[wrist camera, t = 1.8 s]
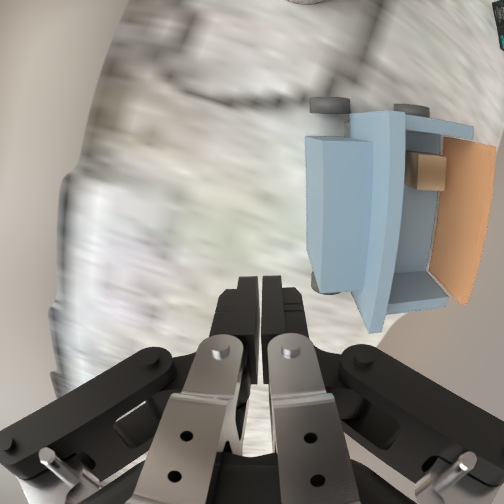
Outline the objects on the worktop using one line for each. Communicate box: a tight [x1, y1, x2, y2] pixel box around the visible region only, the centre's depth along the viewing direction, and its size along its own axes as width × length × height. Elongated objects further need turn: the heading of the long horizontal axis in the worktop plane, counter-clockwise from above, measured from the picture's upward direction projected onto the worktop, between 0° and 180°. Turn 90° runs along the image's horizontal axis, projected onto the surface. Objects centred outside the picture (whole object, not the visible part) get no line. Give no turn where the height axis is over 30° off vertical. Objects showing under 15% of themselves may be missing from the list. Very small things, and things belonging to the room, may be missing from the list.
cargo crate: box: [404, 150, 447, 191], centre depth 29 cm, size 4×4×4 cm
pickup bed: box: [305, 97, 473, 334], centre depth 31 cm, size 26×17×16 cm, turn 4°
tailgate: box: [429, 137, 496, 305], centre depth 28 cm, size 19×2×9 cm, turn 4°
